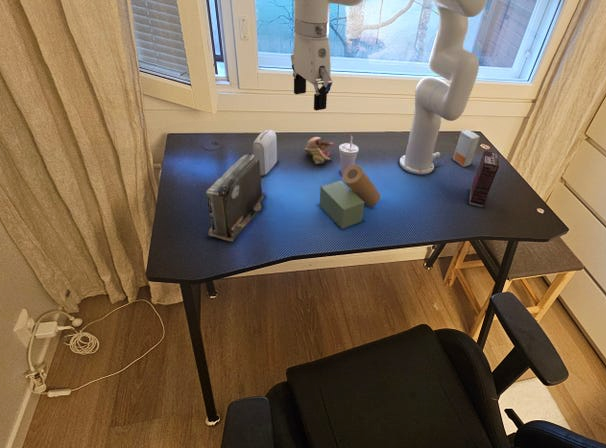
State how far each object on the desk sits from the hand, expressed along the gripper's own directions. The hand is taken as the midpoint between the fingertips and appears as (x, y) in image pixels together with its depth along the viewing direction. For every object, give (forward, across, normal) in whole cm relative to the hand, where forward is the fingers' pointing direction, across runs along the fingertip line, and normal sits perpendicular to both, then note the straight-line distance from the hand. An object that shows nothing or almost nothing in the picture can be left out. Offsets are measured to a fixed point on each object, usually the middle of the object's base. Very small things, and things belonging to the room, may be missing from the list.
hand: (309, 101), depth 99 cm
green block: (+31, -10, -5) cm, 33 cm away
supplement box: (+31, -25, -50) cm, 64 cm away
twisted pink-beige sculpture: (+31, +19, -15) cm, 40 cm away
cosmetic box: (+31, -6, -63) cm, 71 cm away
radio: (+31, +3, +20) cm, 37 cm away
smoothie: (+31, +7, -19) cm, 37 cm away
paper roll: (+31, -10, -12) cm, 35 cm away
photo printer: (+31, +21, +3) cm, 38 cm away
